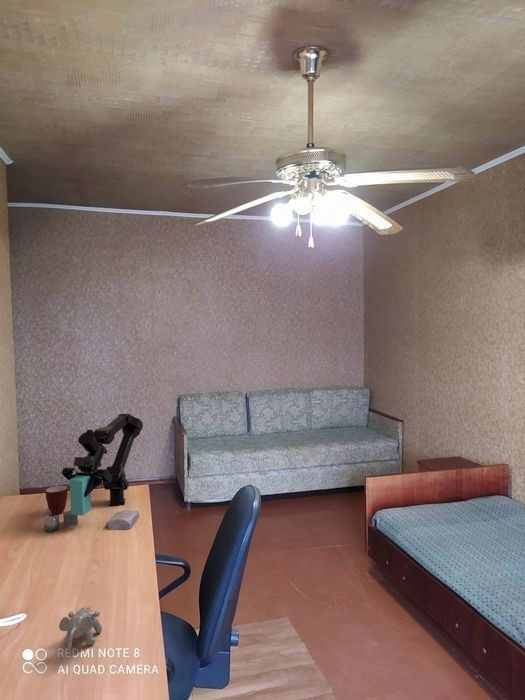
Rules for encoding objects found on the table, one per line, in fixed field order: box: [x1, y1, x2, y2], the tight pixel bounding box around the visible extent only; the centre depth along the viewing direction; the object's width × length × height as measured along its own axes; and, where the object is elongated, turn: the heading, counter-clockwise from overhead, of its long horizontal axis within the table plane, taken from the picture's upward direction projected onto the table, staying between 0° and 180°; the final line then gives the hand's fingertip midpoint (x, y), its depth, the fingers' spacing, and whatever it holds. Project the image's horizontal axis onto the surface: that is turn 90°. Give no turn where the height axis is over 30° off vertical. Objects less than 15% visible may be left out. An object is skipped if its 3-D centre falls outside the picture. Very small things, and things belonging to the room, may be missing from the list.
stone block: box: [107, 509, 140, 531], centre depth 187 cm, size 12×5×10 cm
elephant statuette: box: [58, 606, 103, 650], centre depth 116 cm, size 9×12×8 cm
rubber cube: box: [62, 509, 79, 528], centre depth 188 cm, size 4×4×4 cm
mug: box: [45, 485, 68, 516], centre depth 199 cm, size 10×8×10 cm
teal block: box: [69, 475, 92, 516], centre depth 183 cm, size 5×5×13 cm
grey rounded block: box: [43, 513, 60, 534], centre depth 182 cm, size 5×5×5 cm
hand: (78, 495), depth 182 cm, fingers closed on teal block, 5 cm apart
